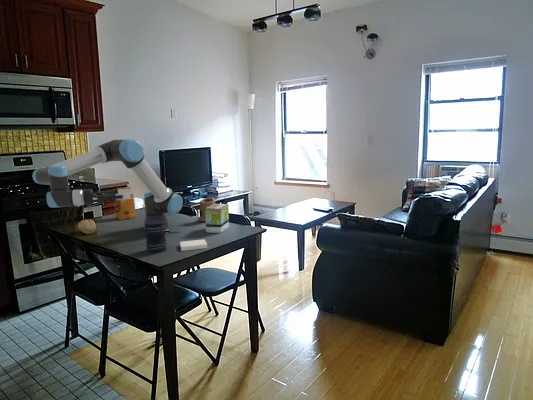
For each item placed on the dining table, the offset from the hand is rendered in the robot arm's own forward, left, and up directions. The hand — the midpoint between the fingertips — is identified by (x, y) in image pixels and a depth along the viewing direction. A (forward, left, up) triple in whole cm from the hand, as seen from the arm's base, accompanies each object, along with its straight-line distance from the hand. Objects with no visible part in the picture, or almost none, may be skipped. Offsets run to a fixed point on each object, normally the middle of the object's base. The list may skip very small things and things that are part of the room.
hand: (131, 193), depth 196 cm
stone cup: (-14, +72, -30) cm, 79 cm away
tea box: (+7, +55, -30) cm, 63 cm away
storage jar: (+6, +8, -30) cm, 32 cm away
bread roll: (-61, +13, -30) cm, 69 cm away
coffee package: (-73, +51, -30) cm, 93 cm away
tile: (+14, +16, -29) cm, 36 cm away
